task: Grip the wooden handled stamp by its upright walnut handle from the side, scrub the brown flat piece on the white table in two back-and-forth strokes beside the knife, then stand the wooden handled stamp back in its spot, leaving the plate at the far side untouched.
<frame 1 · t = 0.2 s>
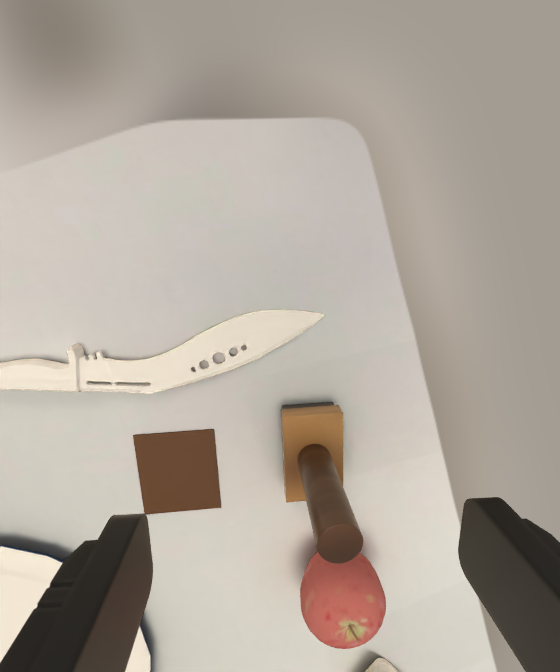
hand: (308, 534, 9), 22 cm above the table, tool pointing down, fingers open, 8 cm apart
knife: (144, 345, 30), on the table
brown flat piece: (178, 472, 32), on the table
plate: (6, 656, 36), on the table
apple: (331, 556, 36), on the table
wooden handled stamp: (308, 441, 33), on the table
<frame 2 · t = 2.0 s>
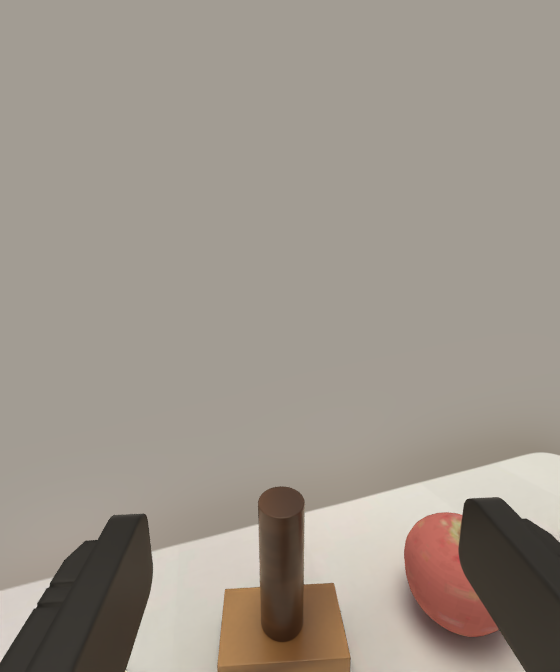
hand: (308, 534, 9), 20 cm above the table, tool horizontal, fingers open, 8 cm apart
apple: (451, 613, 27), on the table
wooden handled stamp: (282, 651, 24), on the table
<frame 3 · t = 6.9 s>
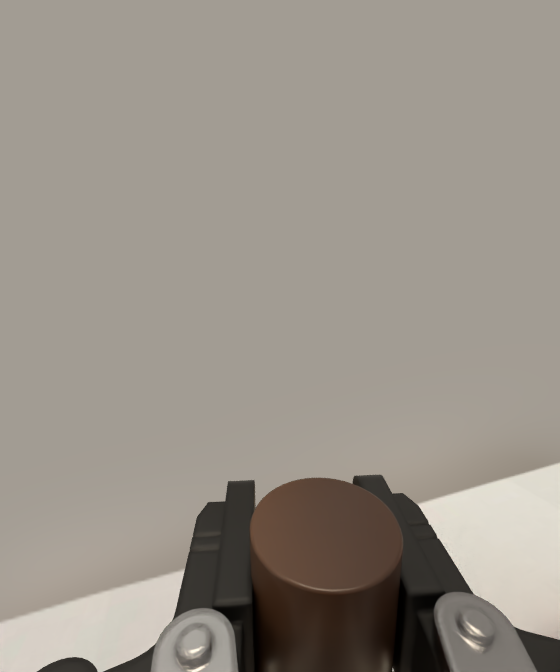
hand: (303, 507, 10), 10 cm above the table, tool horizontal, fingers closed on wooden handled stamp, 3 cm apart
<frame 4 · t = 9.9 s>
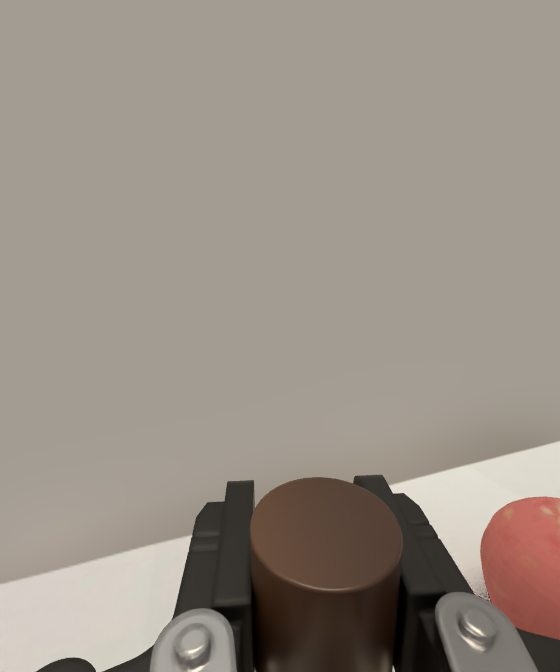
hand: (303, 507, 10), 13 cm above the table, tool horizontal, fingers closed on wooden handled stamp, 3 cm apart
apple: (553, 646, 18), on the table
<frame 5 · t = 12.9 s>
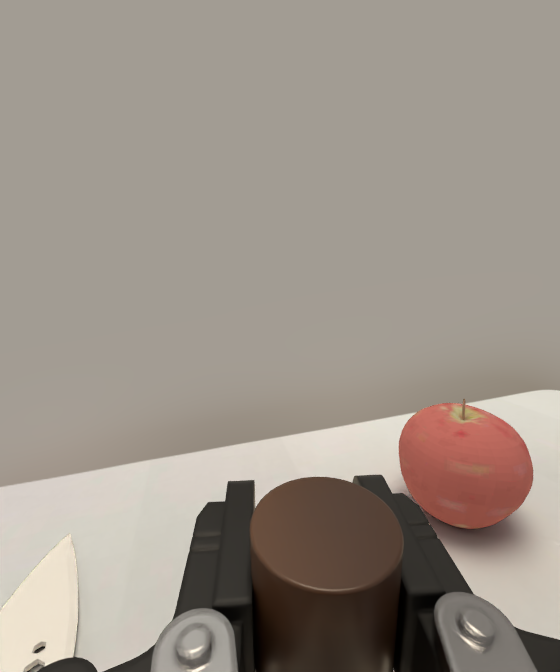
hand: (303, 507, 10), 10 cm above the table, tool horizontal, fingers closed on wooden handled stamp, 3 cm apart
apple: (452, 514, 24), on the table
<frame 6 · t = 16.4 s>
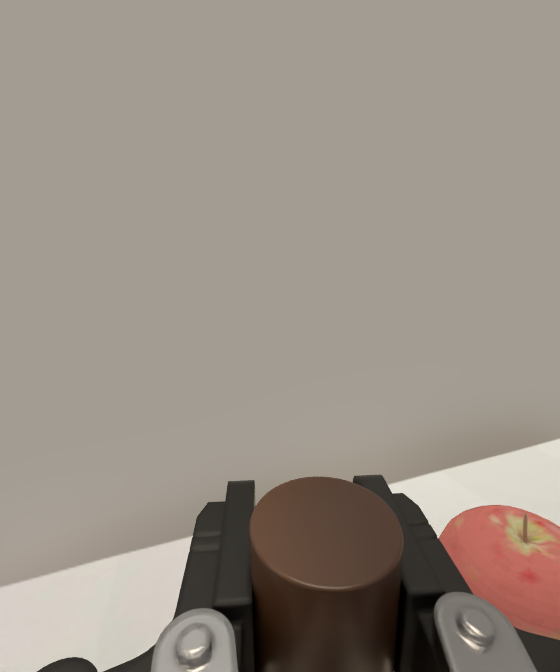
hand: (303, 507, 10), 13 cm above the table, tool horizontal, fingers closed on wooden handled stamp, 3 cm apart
apple: (506, 655, 18), on the table
when the fingers open (10 cm above the table, at t = 18.9 s): wooden handled stamp stays where it is, on the table.
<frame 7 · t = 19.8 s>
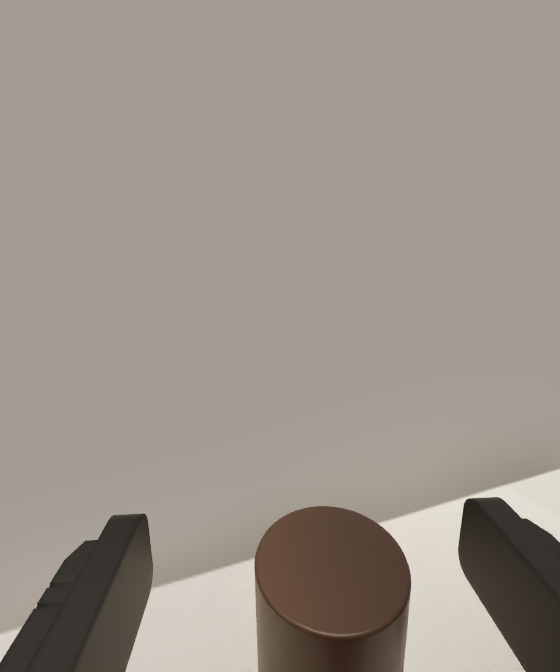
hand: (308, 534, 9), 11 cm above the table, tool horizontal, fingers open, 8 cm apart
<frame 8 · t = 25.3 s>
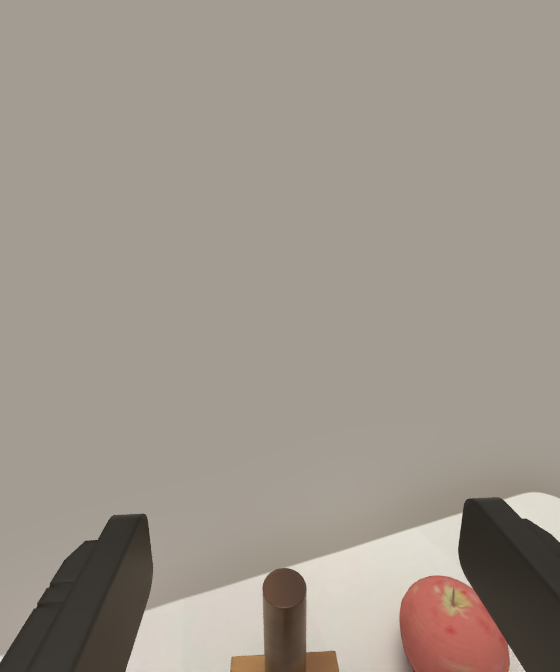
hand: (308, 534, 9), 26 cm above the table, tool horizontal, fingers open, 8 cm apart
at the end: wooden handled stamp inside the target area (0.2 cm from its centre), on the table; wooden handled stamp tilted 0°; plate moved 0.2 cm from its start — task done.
